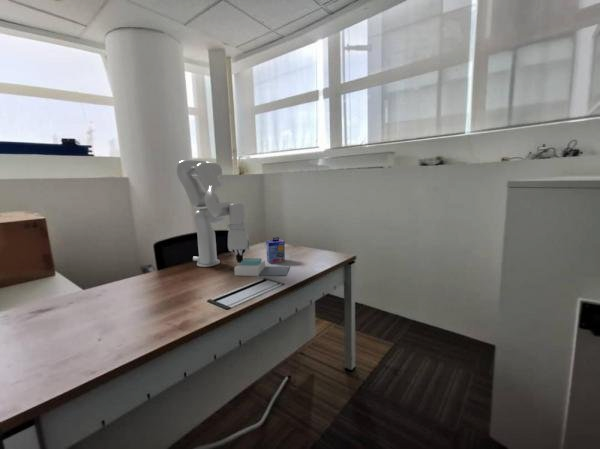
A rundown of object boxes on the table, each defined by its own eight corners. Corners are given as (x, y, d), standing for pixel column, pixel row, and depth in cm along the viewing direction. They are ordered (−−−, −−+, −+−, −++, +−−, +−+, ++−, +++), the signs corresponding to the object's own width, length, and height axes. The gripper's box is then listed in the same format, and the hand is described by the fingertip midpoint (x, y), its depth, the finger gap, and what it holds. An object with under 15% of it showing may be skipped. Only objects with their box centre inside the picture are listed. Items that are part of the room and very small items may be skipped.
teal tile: (241, 265, 140) (241, 261, 140) (244, 261, 146) (244, 258, 146) (258, 265, 140) (258, 261, 139) (261, 261, 145) (261, 258, 145)
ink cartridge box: (269, 263, 156) (268, 238, 154) (266, 261, 161) (265, 236, 158) (285, 261, 160) (284, 236, 158) (282, 259, 165) (281, 235, 163)
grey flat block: (234, 275, 137) (234, 267, 137) (243, 266, 151) (242, 259, 150) (258, 275, 136) (258, 267, 135) (264, 267, 150) (264, 259, 149)
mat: (259, 275, 136) (259, 274, 136) (265, 267, 150) (265, 266, 150) (285, 276, 135) (285, 275, 135) (289, 267, 148) (289, 266, 148)
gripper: (220, 228, 138) (223, 264, 140) (249, 228, 136) (251, 264, 139) (226, 226, 145) (228, 260, 148) (254, 225, 143) (255, 260, 146)
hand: (239, 261), depth 143 cm, fingers closed
